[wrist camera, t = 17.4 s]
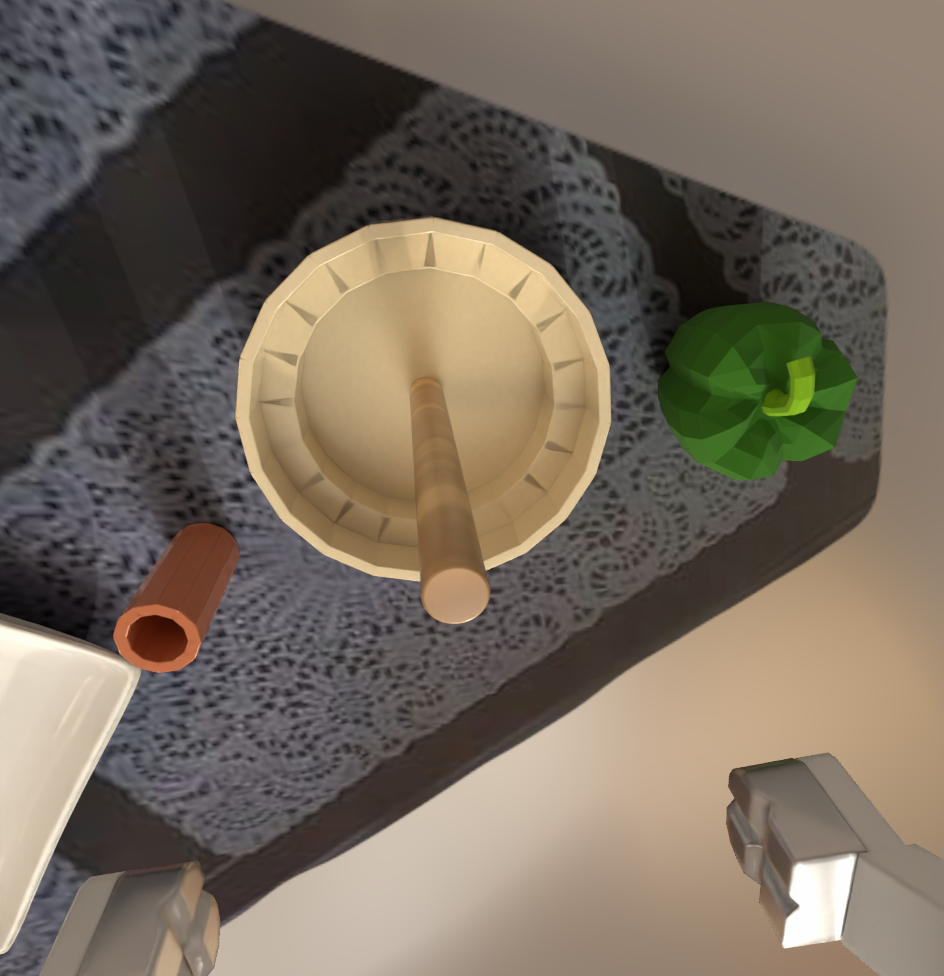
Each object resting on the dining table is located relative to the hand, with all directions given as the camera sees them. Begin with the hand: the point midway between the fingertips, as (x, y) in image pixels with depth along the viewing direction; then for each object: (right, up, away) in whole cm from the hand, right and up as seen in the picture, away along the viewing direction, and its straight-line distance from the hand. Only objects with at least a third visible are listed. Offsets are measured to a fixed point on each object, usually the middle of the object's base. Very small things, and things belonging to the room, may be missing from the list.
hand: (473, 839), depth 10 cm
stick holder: (-16, +2, +28) cm, 32 cm away
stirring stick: (-3, +10, +25) cm, 27 cm away
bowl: (-3, +11, +26) cm, 28 cm away
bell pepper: (+13, +12, +27) cm, 33 cm away
